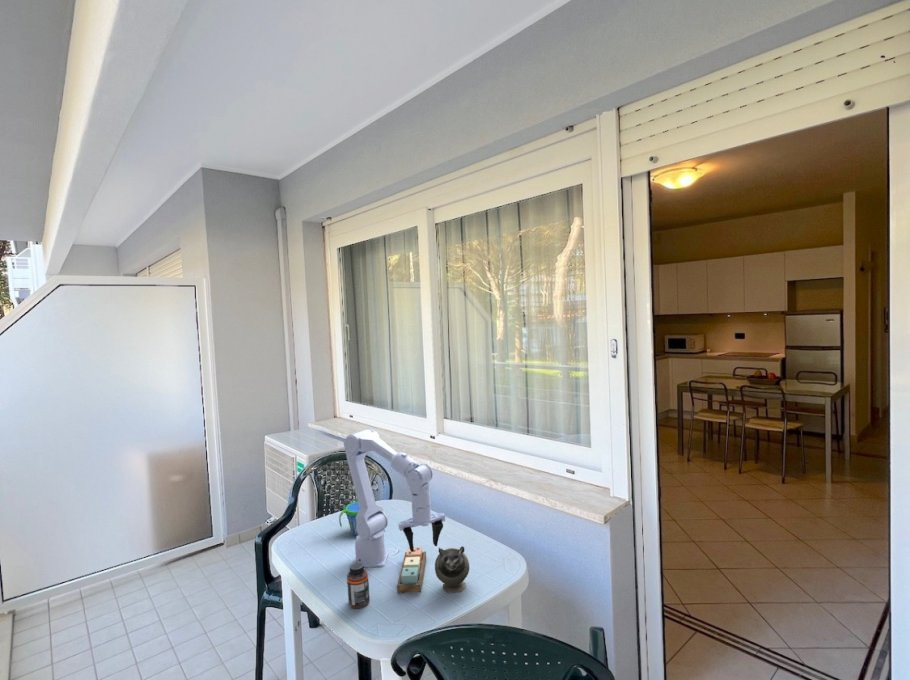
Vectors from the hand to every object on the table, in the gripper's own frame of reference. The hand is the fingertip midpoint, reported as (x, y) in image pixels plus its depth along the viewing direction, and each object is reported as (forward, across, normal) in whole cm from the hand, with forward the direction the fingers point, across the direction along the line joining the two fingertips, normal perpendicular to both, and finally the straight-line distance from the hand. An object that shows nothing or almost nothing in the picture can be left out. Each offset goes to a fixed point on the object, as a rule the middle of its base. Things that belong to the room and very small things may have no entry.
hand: (423, 547), depth 147 cm
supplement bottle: (+10, -21, -4) cm, 24 cm away
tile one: (+8, -3, +3) cm, 9 cm away
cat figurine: (+10, +6, -9) cm, 15 cm away
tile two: (+8, -6, -3) cm, 10 cm away
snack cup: (+10, -13, +41) cm, 44 cm away
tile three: (+8, -1, +9) cm, 12 cm away
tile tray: (+10, -3, +3) cm, 11 cm away
